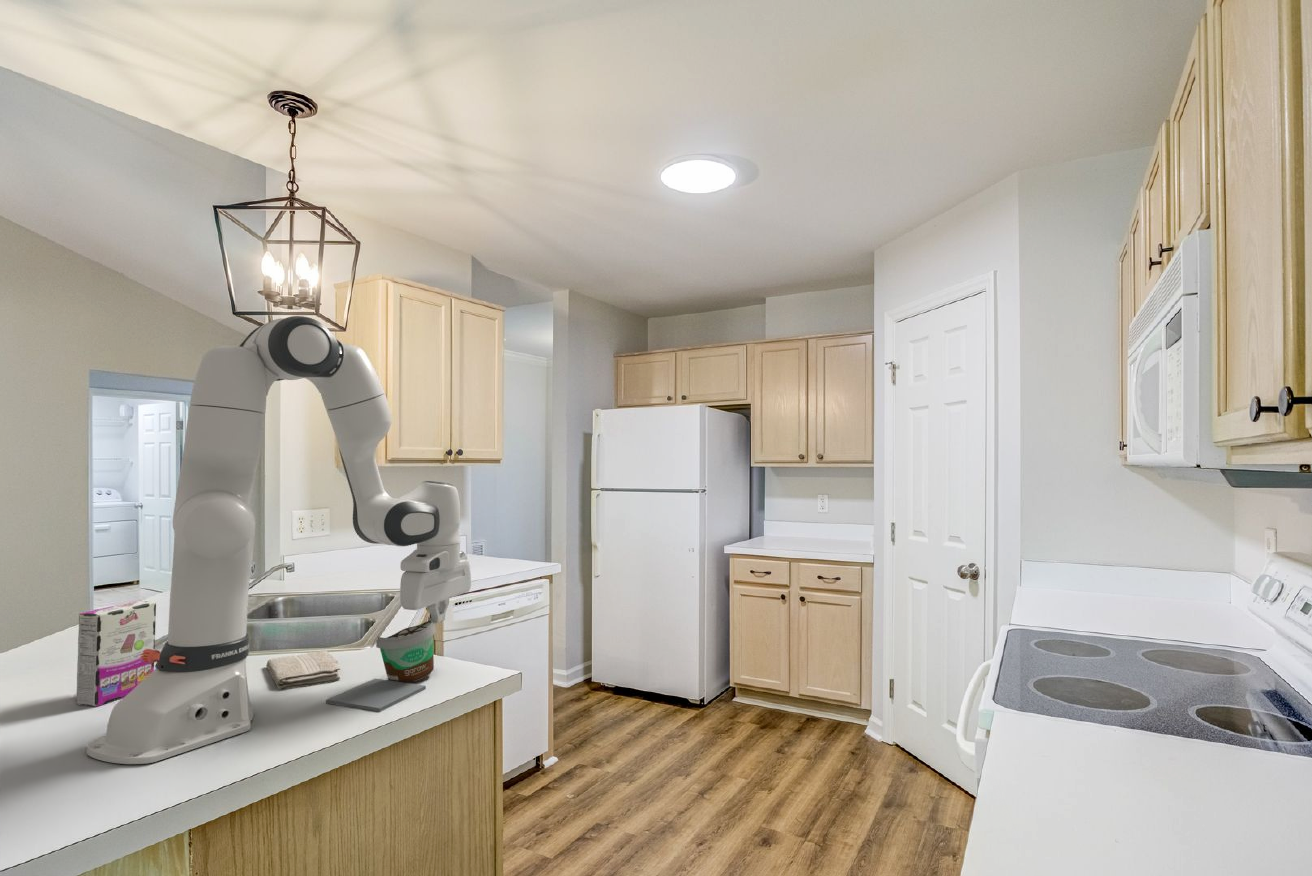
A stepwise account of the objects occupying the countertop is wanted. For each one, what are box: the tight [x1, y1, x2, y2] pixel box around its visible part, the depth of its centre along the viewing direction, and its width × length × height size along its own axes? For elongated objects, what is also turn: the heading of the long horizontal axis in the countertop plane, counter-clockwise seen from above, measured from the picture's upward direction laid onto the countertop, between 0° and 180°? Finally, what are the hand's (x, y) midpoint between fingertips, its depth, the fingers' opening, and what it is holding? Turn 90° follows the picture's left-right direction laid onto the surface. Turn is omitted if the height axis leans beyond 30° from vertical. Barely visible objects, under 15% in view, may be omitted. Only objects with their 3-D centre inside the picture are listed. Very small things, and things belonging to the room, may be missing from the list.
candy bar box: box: [75, 600, 157, 708], centre depth 125 cm, size 11×5×16 cm, turn 168°
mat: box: [325, 678, 427, 712], centre depth 128 cm, size 13×12×1 cm
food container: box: [375, 616, 437, 683], centre depth 137 cm, size 12×6×10 cm, turn 139°
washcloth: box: [266, 650, 341, 691], centre depth 140 cm, size 12×18×3 cm, turn 38°
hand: (438, 621), depth 144 cm, fingers closed
